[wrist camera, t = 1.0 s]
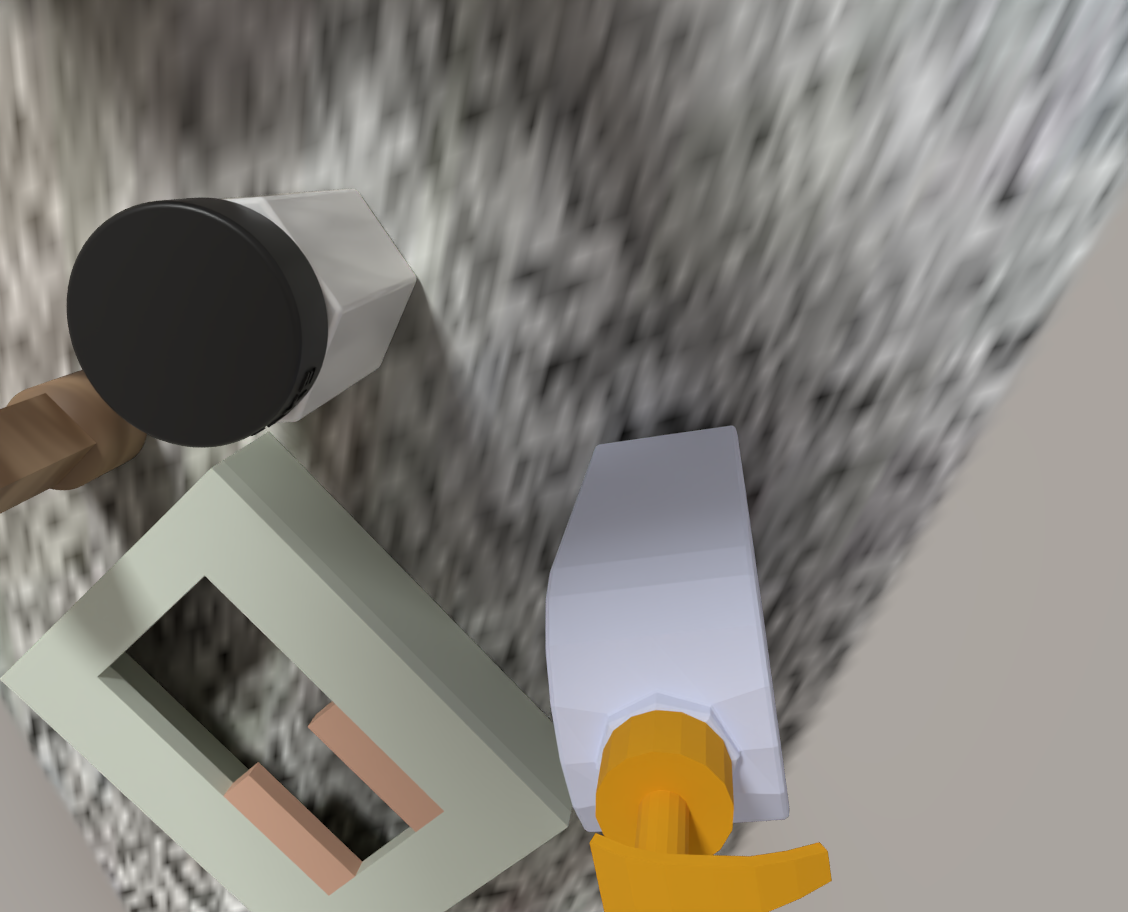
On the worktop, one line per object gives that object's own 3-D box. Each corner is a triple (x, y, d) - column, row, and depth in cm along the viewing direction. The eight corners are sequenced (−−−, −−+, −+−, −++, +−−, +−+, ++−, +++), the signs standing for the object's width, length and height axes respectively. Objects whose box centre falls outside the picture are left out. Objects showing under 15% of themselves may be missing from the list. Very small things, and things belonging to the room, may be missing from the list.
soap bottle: (778, 604, 44) (854, 1047, 22) (629, 621, 45) (561, 1054, 23) (752, 418, 41) (809, 709, 20) (595, 440, 42) (485, 737, 21)
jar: (241, 377, 44) (81, 454, 33) (210, 195, 42) (25, 210, 30) (428, 370, 43) (329, 448, 31) (407, 181, 40) (291, 191, 29)
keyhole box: (73, 623, 49) (-1, 678, 44) (268, 431, 44) (211, 468, 39) (369, 905, 52) (333, 988, 47) (582, 753, 47) (568, 827, 42)
